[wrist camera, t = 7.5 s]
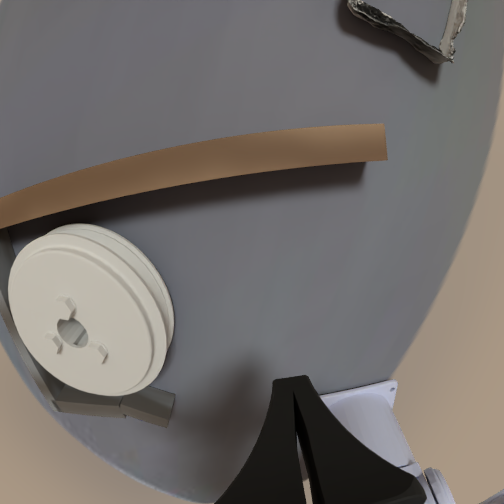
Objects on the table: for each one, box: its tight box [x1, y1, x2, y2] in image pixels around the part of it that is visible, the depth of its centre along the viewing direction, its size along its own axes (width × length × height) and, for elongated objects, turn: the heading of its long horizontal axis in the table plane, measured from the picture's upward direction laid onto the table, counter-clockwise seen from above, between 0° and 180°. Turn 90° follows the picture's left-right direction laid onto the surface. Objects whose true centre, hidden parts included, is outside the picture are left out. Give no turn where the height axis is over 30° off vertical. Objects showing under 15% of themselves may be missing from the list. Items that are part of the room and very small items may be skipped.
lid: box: [8, 223, 174, 396], centre depth 19 cm, size 13×13×5 cm
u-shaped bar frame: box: [0, 124, 388, 428], centre depth 20 cm, size 20×28×3 cm
